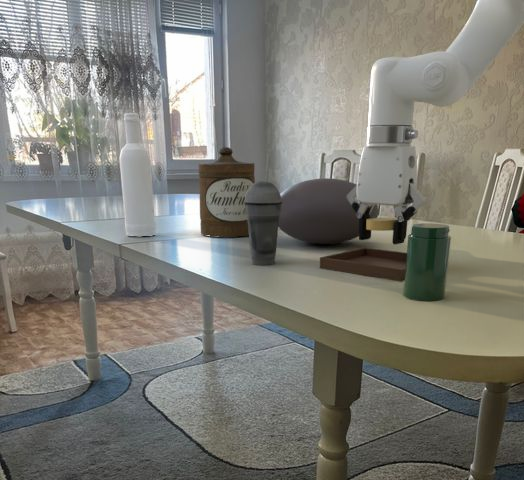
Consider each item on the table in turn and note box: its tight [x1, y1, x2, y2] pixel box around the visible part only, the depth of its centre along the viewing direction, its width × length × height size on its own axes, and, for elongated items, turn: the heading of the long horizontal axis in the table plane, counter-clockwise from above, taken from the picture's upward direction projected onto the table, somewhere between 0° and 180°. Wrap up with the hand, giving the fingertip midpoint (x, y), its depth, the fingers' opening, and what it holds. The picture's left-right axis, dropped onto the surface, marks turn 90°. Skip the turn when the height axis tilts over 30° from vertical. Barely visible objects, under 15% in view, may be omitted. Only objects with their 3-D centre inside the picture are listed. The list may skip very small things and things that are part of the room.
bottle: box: [119, 112, 157, 236], centre depth 140 cm, size 8×8×30 cm
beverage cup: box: [244, 155, 282, 266], centre depth 104 cm, size 7×7×20 cm
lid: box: [366, 217, 397, 232], centre depth 100 cm, size 6×6×2 cm
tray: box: [319, 246, 407, 282], centre depth 102 cm, size 17×15×2 cm
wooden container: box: [197, 146, 256, 238], centre depth 143 cm, size 15×15×22 cm
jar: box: [402, 222, 452, 302], centre depth 80 cm, size 6×6×10 cm
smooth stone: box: [278, 178, 379, 245], centre depth 128 cm, size 25×25×15 cm
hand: (381, 240), depth 101 cm, fingers closed on lid, 6 cm apart
